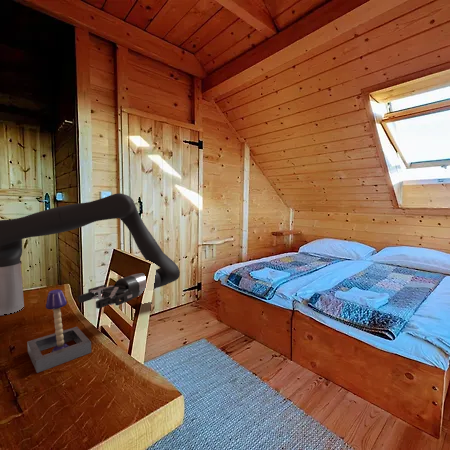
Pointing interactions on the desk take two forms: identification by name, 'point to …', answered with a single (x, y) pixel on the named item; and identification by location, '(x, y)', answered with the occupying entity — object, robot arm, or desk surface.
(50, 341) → the square frame
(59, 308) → the toy lamp
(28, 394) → the desk surface
